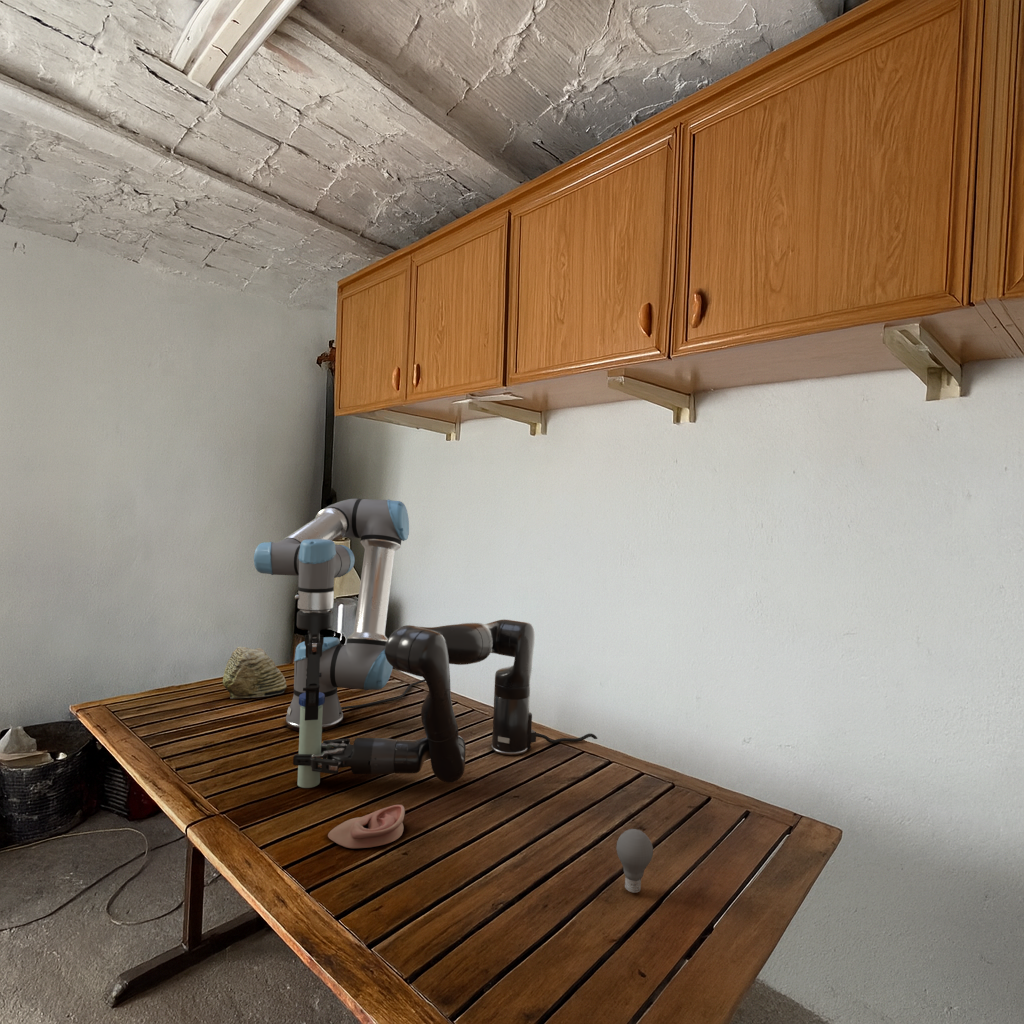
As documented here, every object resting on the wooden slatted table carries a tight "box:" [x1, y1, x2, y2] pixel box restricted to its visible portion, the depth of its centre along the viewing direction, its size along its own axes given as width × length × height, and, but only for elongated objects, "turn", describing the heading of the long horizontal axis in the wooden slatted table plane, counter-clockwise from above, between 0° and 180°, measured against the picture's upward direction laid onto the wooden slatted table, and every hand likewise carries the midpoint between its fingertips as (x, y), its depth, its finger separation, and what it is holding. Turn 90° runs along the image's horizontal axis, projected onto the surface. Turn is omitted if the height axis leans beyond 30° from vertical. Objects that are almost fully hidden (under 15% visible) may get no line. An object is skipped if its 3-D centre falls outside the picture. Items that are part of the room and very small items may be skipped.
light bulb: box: [615, 828, 654, 894], centre depth 106 cm, size 6×6×10 cm
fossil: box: [222, 646, 288, 699], centre depth 198 cm, size 9×18×15 cm, turn 132°
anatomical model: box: [327, 804, 406, 849], centre depth 120 cm, size 13×4×12 cm
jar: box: [296, 705, 323, 789], centre depth 140 cm, size 5×5×19 cm
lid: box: [299, 692, 325, 707], centre depth 139 cm, size 5×6×2 cm
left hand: (311, 713), depth 140 cm, fingers open, 7 cm apart
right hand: (297, 754), depth 139 cm, fingers closed on jar, 4 cm apart
